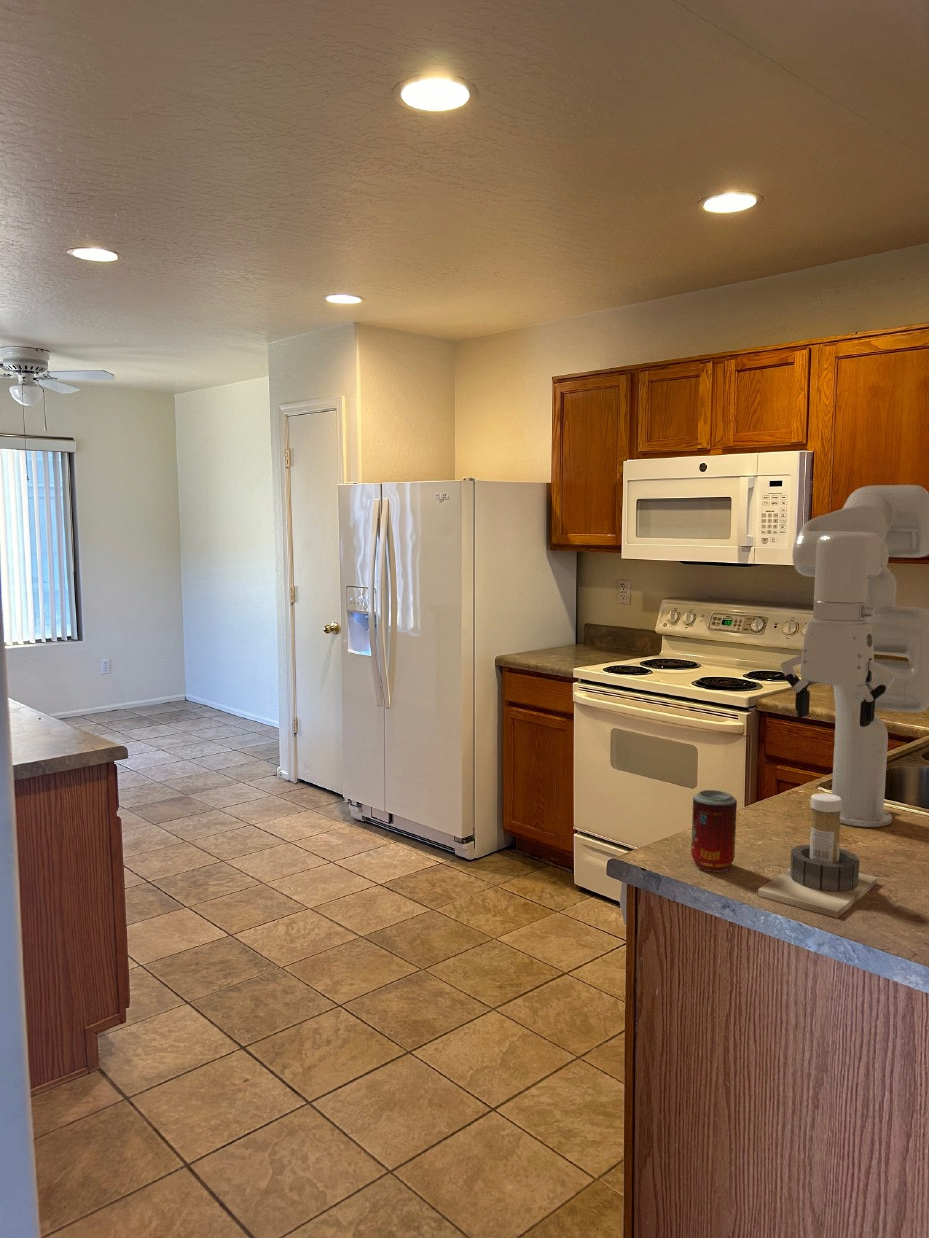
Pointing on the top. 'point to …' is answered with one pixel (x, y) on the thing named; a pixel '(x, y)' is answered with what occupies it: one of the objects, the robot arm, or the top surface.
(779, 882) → the collar stand
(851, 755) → the robot arm
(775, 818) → the top surface
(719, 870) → the soda can
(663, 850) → the top surface
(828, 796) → the sprinkles bottle
